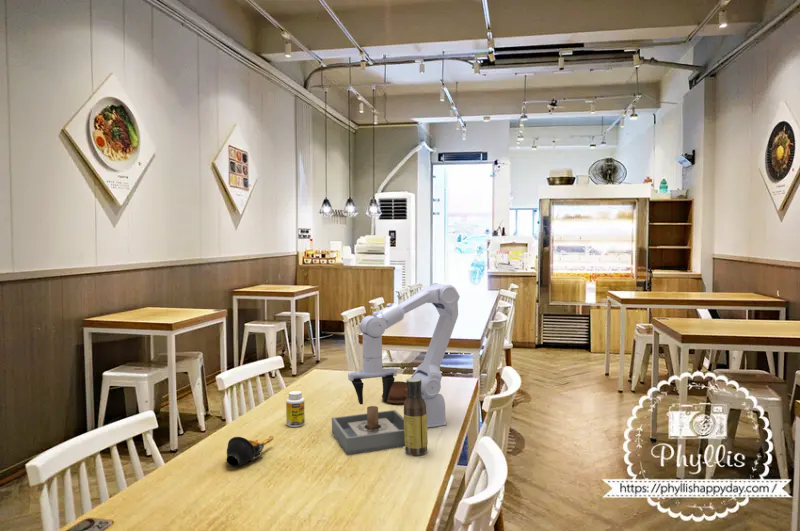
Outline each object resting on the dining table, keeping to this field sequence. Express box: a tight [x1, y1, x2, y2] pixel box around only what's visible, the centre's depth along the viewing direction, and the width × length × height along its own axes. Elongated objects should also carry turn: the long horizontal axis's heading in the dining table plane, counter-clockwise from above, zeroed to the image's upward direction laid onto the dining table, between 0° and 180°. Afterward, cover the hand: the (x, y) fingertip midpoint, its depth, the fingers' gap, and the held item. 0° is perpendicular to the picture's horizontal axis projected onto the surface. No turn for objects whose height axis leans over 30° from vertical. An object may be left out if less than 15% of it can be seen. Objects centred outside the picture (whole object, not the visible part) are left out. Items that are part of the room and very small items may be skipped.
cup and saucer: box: [381, 380, 408, 404], centre depth 191 cm, size 12×12×6 cm
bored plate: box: [347, 418, 398, 437], centre depth 154 cm, size 12×12×2 cm
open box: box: [331, 409, 405, 456], centre depth 154 cm, size 20×18×4 cm
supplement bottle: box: [285, 390, 306, 428], centre depth 166 cm, size 6×6×10 cm
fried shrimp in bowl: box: [225, 435, 274, 468], centre depth 141 cm, size 8×10×16 cm
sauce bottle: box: [403, 377, 429, 457], centre depth 144 cm, size 6×6×20 cm
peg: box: [366, 405, 379, 430], centre depth 154 cm, size 3×3×8 cm
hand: (373, 401), depth 159 cm, fingers open, 7 cm apart
